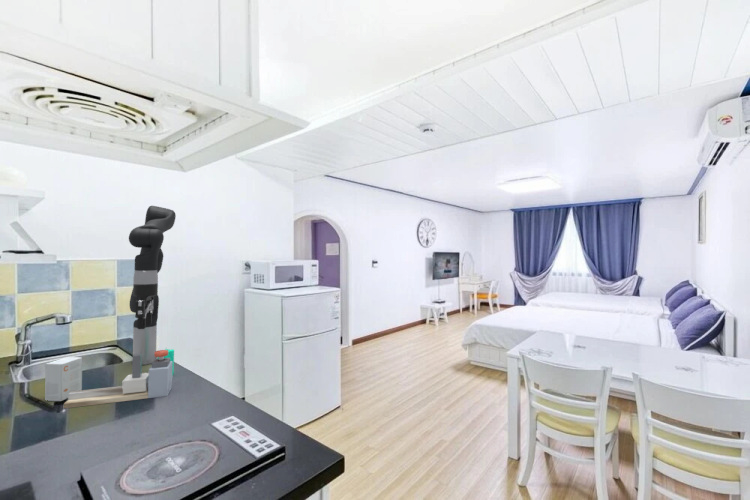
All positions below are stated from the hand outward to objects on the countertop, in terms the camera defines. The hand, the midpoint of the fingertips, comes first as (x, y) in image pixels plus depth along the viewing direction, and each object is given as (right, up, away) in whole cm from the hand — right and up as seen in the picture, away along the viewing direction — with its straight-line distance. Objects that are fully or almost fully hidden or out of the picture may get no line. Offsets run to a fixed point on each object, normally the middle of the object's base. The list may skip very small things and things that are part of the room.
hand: (144, 326), depth 126 cm
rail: (-9, -25, -4) cm, 27 cm away
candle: (-4, -25, +19) cm, 32 cm away
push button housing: (+5, -25, +2) cm, 25 cm away
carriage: (-2, -23, -1) cm, 23 cm away
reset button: (+5, -13, +2) cm, 14 cm away
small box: (-27, -25, -3) cm, 37 cm away
